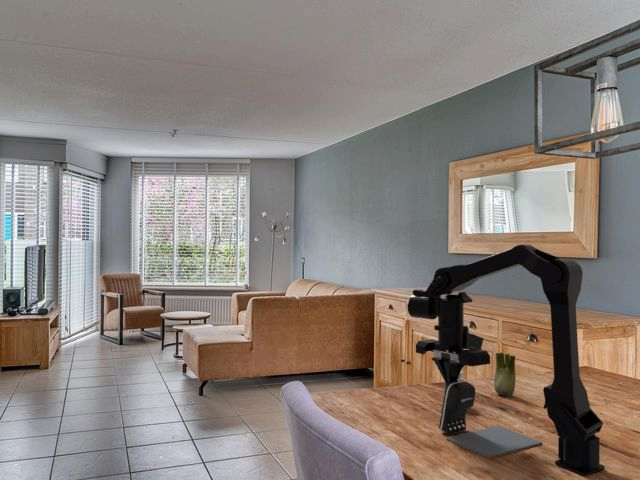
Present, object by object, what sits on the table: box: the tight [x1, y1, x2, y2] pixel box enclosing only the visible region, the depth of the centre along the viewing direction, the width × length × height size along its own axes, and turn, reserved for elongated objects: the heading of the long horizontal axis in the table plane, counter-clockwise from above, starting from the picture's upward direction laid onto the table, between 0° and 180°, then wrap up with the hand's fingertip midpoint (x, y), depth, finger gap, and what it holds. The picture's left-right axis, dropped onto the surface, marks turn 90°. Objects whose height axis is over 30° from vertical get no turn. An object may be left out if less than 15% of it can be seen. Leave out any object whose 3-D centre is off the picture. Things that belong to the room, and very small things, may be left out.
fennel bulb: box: [493, 352, 517, 397], centre depth 154 cm, size 6×5×12 cm
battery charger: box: [438, 379, 476, 435], centre depth 123 cm, size 7×4×11 cm, turn 124°
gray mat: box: [446, 425, 543, 459], centre depth 117 cm, size 12×16×1 cm
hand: (451, 389), depth 125 cm, fingers closed
